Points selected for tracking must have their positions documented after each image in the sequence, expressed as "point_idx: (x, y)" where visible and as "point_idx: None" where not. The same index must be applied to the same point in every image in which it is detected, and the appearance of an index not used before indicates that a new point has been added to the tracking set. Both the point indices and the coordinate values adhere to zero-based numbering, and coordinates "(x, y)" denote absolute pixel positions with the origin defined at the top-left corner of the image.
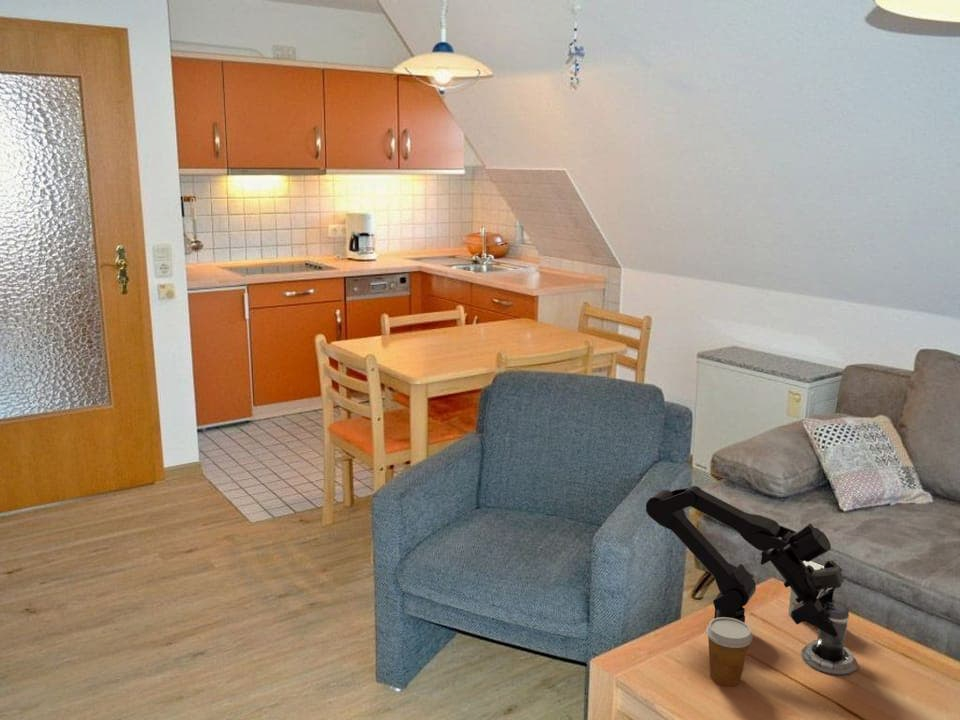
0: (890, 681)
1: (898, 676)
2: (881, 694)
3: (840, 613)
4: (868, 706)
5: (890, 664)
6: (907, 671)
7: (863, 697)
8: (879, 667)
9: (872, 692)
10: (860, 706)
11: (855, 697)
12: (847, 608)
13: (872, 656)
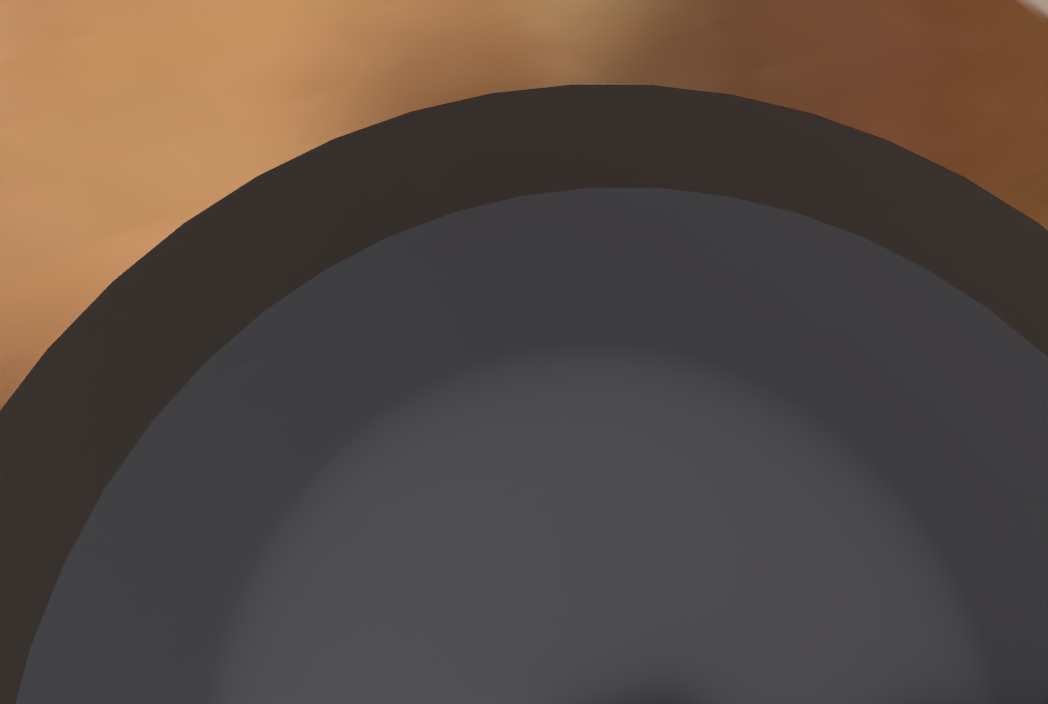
0: (398, 41)
1: (248, 25)
2: (680, 17)
3: (948, 278)
4: (951, 21)
5: (69, 150)
6: (87, 3)
7: (865, 98)
8: (218, 200)
9: (719, 77)
10: (1014, 63)
11: (931, 143)
12: (149, 277)
13: (34, 338)
